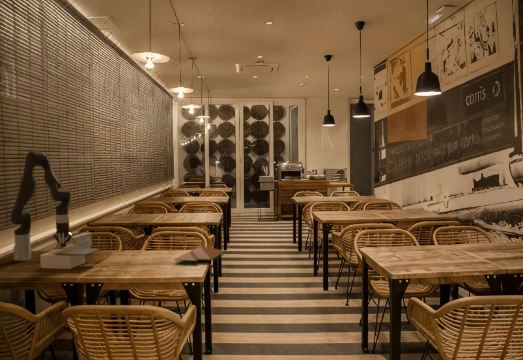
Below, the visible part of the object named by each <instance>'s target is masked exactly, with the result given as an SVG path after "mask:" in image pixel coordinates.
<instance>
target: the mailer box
mask: <svg viewBox="0 0 523 360" xmlns="http://www.w3.org/2000/svg"><path fill="white" fill-rule="evenodd" d="M59 252H61V249H55V250H50V251H49V252H48V251H47V252H46V253H42V254H40V258H39V259H40V268H41V269H59V270H60V269H61V270H62V269H67V270H72V269H73V268H76V267H78V266H81V265H82V264H83V265H84V264H85V263H86V256H84V255H56V253H59Z"/></svg>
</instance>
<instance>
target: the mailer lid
mask: <svg viewBox="0 0 523 360" xmlns="http://www.w3.org/2000/svg"><path fill="white" fill-rule="evenodd" d="M60 250H61V252H59V253H56V255H84V256H85V257H86V255H87V256H90V255H92V254H93V253H96V252H99V251H100V250H101V249H100V248H92V249H84V248H75V244H71V245H68V246H67V245H66V246H65V247H62V248H61V247H60ZM91 253H92V254H91ZM89 254H90V255H89Z"/></svg>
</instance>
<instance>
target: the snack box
mask: <svg viewBox="0 0 523 360" xmlns="http://www.w3.org/2000/svg"><path fill="white" fill-rule="evenodd" d="M92 235H93V233H92V232H82V233H80V234H79V233H78V234H76V235H73V236H72V238H71V239H70V241H69V242H67V243H66V246H68V245H71V244H75V248H84V249H93V242H92V241H93V238H92V237H93V236H92ZM92 254H93V253H91V254H89V255H86V256H90V255H92ZM86 256H85V257H86Z"/></svg>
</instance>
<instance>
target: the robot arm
mask: <svg viewBox="0 0 523 360" xmlns="http://www.w3.org/2000/svg"><path fill="white" fill-rule="evenodd" d="M23 167H24V168H23V174H22V178H21V180H20V185H19V188H18V194H17V197H16V200H15V203H14V204H13V205H14V206H13V208H12V211H11V214H10V222H11V223H12V224H13V225H19V227H18V228H16V229H15V230H14V232H13V234H14V246H13V259H14V261H15V262H24V261H29V260H31V259H32V246H31V228H32V225H31V224H32V215H31V212H30V211H29V209H26V208H25V206H26V205H27V204H28V202H30V200H31V199H32V197H34V195H35V192H36V190H37V189H36V188H37V182H36V180H35V177H34V169H35V167H41V168H42V169H43V171H44V174H43V178H44V182H45V183H46V185H47V187H48V188H49V192H50V195H51V197H52V199H53V201H55V202H60V204H57V205H56V206H55V229H56V231H55V233H54V234H52V236H53V238H54V240H56V242H57V243H59V244H60V249H61V248H62V247H65V246H67V242H69V241H70V239H71V238H72V236H74V234H72V233H71V232H70V216H69V205H70V200H71V193H70V190H68V189H60V188H61V187H62V184H61V181H60V180H59V179H58V178H57V176H56V174H55V172H54V170H53V168H52V166H51V163H50V160H49V159H48V157H47V154H46V153H45V152H44V151H29V152H27V154H26V156H25V160H24V166H23ZM24 208H25V209H24Z"/></svg>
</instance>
